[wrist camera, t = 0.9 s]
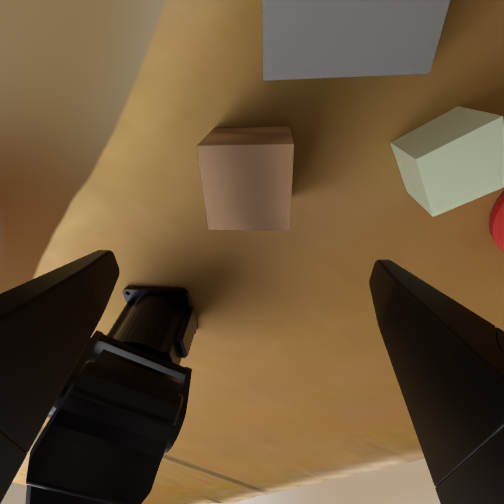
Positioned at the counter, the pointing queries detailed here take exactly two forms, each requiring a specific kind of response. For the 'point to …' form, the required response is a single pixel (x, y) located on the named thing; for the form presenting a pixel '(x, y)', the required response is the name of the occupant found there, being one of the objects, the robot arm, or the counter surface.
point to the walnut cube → (247, 177)
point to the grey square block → (350, 37)
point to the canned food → (498, 222)
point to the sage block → (452, 159)
